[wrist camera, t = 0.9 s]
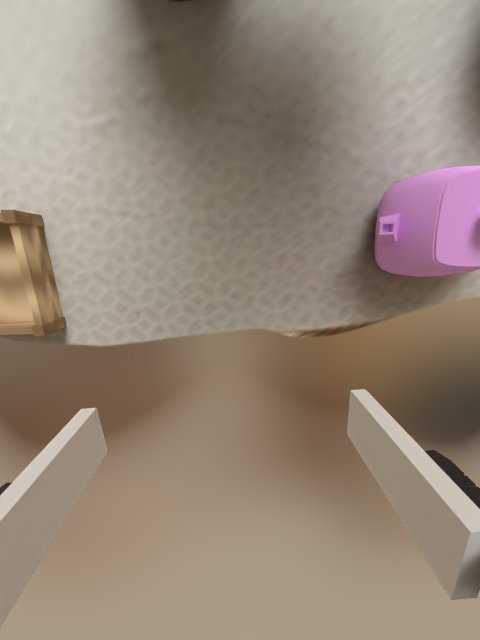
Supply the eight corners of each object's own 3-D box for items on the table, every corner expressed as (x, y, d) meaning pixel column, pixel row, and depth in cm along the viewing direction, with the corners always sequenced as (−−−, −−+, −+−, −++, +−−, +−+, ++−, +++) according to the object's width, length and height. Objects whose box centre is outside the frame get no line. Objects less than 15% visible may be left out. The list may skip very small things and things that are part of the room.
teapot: (485, 176, 33) (634, 132, 21) (468, 269, 37) (588, 277, 24) (340, 185, 33) (405, 145, 21) (336, 278, 36) (390, 291, 24)
